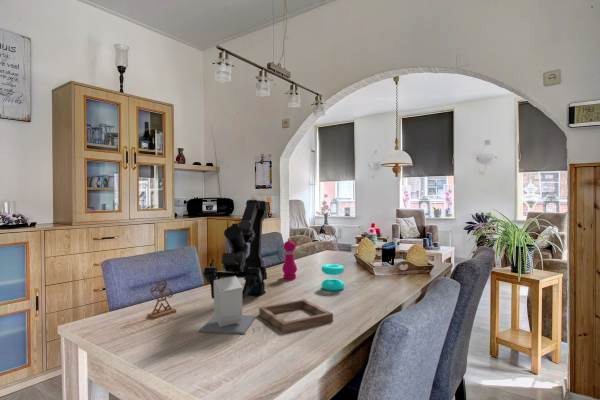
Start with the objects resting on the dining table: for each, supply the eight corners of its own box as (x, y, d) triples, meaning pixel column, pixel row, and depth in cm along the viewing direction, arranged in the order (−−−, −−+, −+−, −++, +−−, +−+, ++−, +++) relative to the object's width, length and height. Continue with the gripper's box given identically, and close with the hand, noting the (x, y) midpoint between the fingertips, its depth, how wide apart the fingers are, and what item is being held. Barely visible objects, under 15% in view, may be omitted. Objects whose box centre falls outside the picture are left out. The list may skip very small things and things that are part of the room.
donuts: (346, 264, 153) (340, 268, 144) (346, 286, 153) (340, 292, 144) (325, 262, 157) (318, 266, 148) (325, 284, 157) (318, 290, 148)
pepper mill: (298, 277, 172) (298, 237, 171) (294, 280, 165) (293, 238, 165) (285, 275, 174) (285, 236, 174) (280, 279, 167) (279, 238, 167)
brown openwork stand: (170, 309, 123) (170, 276, 123) (176, 312, 121) (176, 278, 120) (146, 317, 116) (146, 281, 116) (153, 319, 113) (152, 283, 113)
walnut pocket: (259, 314, 117) (259, 307, 117) (304, 306, 126) (304, 299, 126) (283, 332, 102) (283, 324, 102) (332, 321, 111) (332, 313, 111)
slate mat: (215, 316, 116) (215, 314, 116) (255, 317, 115) (255, 315, 115) (198, 332, 102) (198, 330, 102) (244, 334, 101) (244, 332, 101)
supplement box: (242, 322, 107) (243, 287, 103) (219, 327, 104) (218, 292, 100) (236, 308, 114) (236, 275, 109) (213, 313, 110) (213, 279, 106)
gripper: (204, 242, 113) (190, 284, 102) (260, 243, 111) (251, 285, 100) (213, 261, 121) (201, 302, 110) (265, 262, 119) (258, 304, 108)
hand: (227, 298), depth 107 cm, fingers closed on supplement box, 9 cm apart
